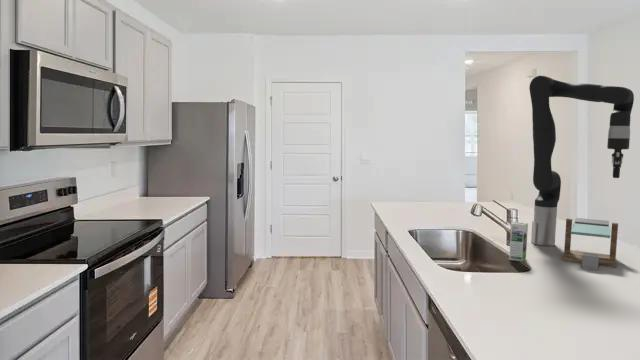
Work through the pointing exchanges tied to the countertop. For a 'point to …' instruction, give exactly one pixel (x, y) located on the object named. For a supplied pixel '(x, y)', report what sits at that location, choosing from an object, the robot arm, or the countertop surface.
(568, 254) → the frame
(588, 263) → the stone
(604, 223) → the trapdoor
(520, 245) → the syrup box
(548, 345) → the countertop surface
